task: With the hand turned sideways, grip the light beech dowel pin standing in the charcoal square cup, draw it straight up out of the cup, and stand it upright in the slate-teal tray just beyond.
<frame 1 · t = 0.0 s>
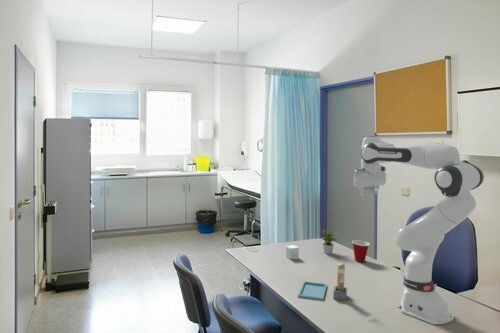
hand: (368, 194, 198), 48 cm above the table, tool pointing down, fingers open, 8 cm apart
plastic cup: (360, 261, 241), on the table
product box: (292, 258, 246), on the table
square cup: (340, 299, 185), on the table
beech pin: (340, 297, 185), point 1 cm above the table, touching square cup
house plant: (328, 254, 254), on the table
tray: (312, 293, 192), on the table
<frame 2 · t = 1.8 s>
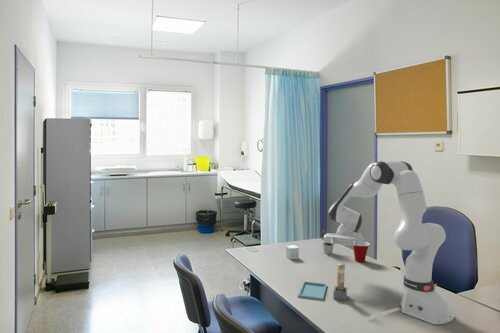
hand: (342, 243, 194), 24 cm above the table, tool horizontal, fingers open, 8 cm apart
nothing on the table moved.
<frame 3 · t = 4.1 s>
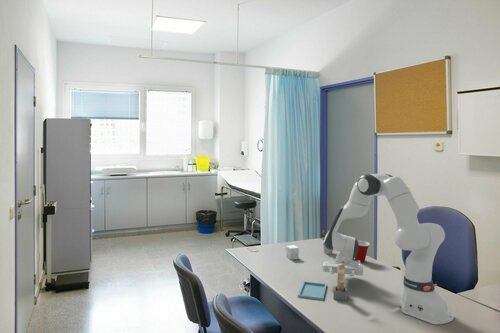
hand: (341, 273, 191), 10 cm above the table, tool horizontal, fingers open, 8 cm apart
nothing on the table moved.
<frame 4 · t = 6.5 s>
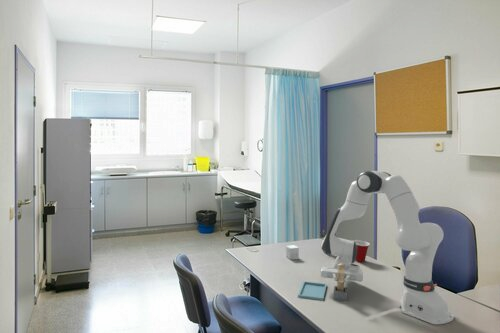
hand: (340, 279, 183), 10 cm above the table, tool horizontal, fingers closed on beech pin, 3 cm apart
beech pin: (340, 297, 185), point 1 cm above the table, touching gripper, square cup
everything else where it was.
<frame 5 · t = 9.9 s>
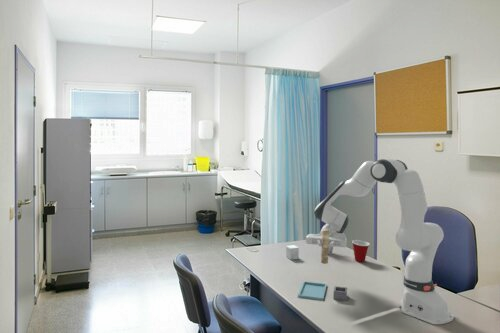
hand: (324, 245, 186), 26 cm above the table, tool horizontal, fingers closed on beech pin, 3 cm apart
beech pin: (324, 262, 188), point 17 cm above the table, touching gripper
everything else where it was.
when the fingers open (11 cm above the table, at t = 13.4 s): beech pin stays where it is, resting on tray.
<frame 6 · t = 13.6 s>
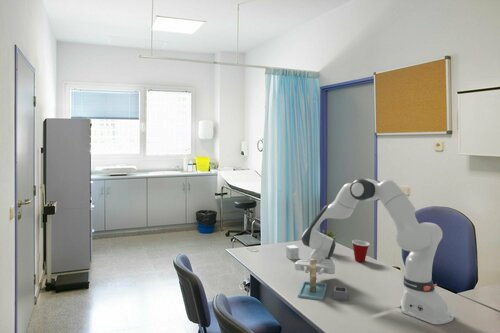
hand: (313, 272, 190), 11 cm above the table, tool horizontal, fingers open, 5 cm apart
beech pin: (312, 291, 192), point 1 cm above the table, touching tray
everything else where it was.
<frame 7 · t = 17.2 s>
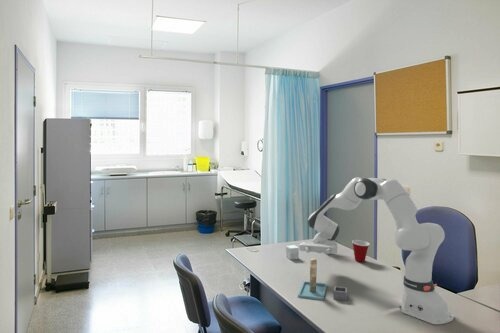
hand: (316, 251, 202), 18 cm above the table, tool horizontal, fingers open, 8 cm apart
nothing on the table moved.
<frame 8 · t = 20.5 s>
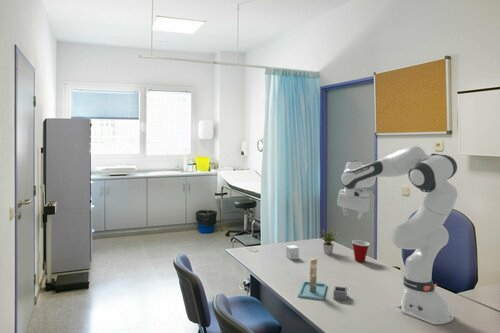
hand: (352, 217, 204), 35 cm above the table, tool pointing down, fingers open, 8 cm apart
nothing on the table moved.
at the end: beech pin inside the target area on the tray (0.0 cm from its centre), point 1.0 cm above the tray's base; beech pin tilted 0°; the gripper is holding nothing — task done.
